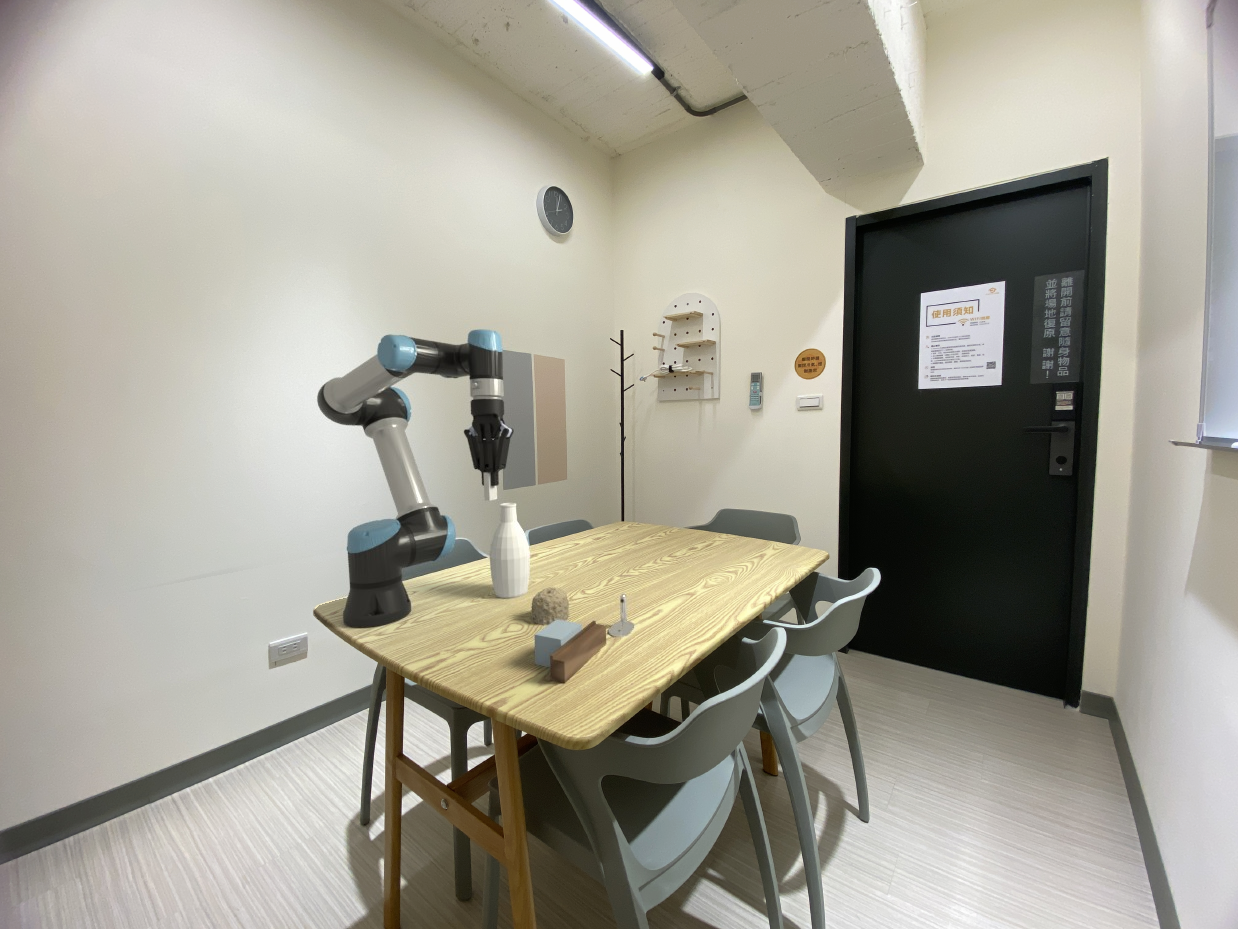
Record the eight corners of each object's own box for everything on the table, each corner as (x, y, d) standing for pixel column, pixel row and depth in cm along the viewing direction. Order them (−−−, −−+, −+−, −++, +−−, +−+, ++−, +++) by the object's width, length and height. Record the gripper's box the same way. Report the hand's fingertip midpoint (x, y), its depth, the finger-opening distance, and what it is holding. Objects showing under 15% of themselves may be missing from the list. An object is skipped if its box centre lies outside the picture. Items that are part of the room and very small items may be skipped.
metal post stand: (605, 635, 104) (616, 621, 111) (627, 638, 102) (636, 624, 110) (604, 601, 103) (616, 590, 111) (626, 604, 102) (636, 592, 109)
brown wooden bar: (550, 680, 85) (549, 655, 85) (593, 641, 101) (593, 620, 100) (564, 683, 84) (564, 658, 84) (606, 644, 99) (605, 622, 99)
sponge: (549, 642, 110) (572, 609, 108) (517, 617, 111) (539, 584, 109) (562, 626, 119) (583, 595, 117) (532, 603, 120) (552, 572, 118)
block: (535, 664, 91) (534, 634, 91) (557, 647, 99) (556, 619, 98) (561, 670, 89) (560, 639, 88) (582, 652, 96) (581, 623, 96)
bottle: (503, 603, 125) (499, 508, 123) (483, 593, 133) (480, 504, 131) (538, 593, 132) (536, 503, 131) (518, 584, 140) (515, 499, 139)
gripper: (453, 399, 108) (458, 500, 110) (499, 396, 103) (503, 503, 105) (476, 401, 115) (479, 496, 117) (520, 398, 110) (523, 498, 111)
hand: (490, 499), depth 111 cm, fingers closed
